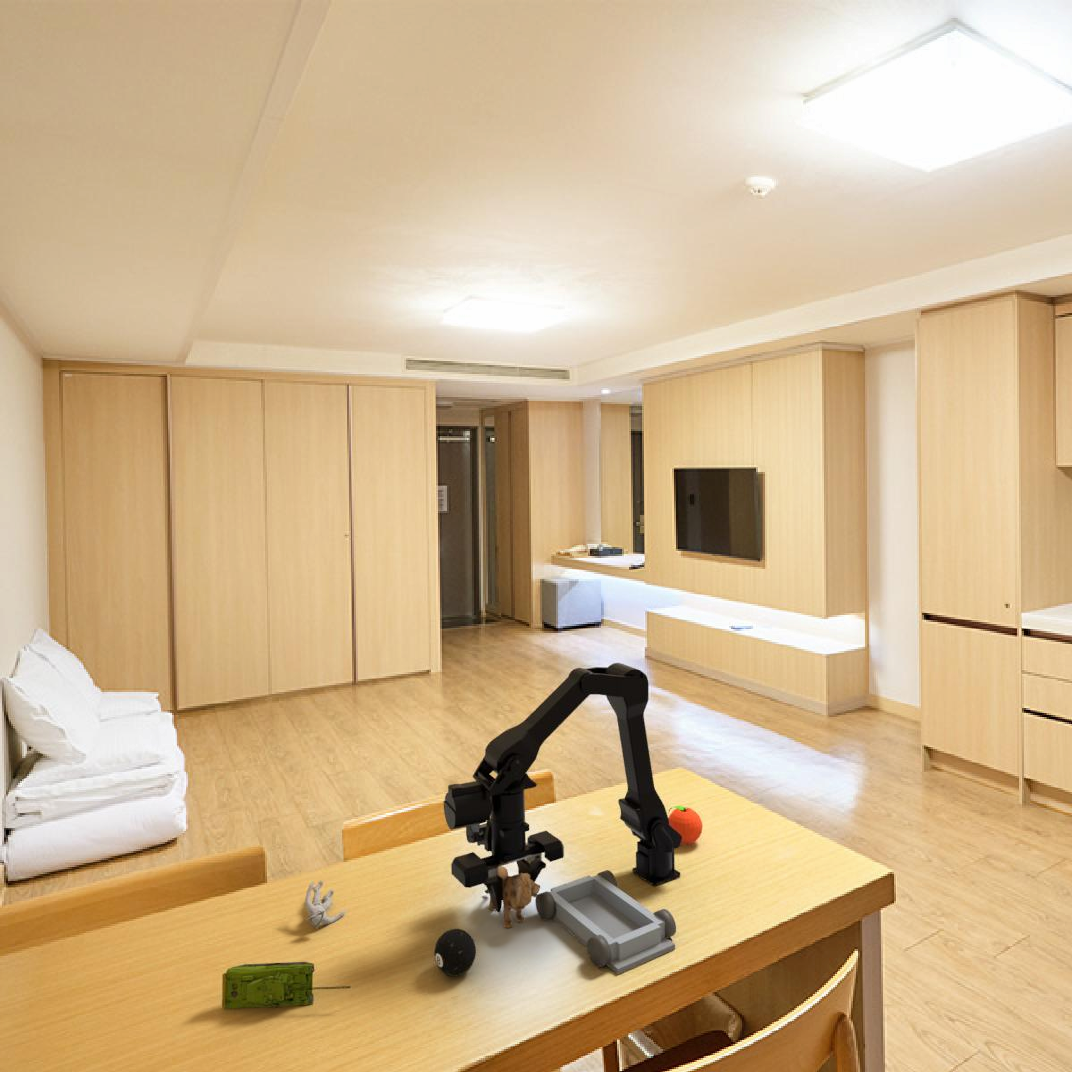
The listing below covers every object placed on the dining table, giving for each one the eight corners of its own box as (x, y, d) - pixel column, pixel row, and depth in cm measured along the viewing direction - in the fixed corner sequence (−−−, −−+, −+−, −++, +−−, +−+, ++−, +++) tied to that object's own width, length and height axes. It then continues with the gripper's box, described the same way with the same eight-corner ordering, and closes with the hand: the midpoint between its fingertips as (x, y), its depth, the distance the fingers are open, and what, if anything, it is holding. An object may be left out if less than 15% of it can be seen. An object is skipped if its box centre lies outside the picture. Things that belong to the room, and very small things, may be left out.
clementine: (656, 839, 152) (655, 805, 151) (680, 829, 156) (679, 796, 156) (686, 854, 145) (685, 818, 145) (710, 843, 150) (709, 808, 149)
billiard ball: (484, 971, 111) (482, 932, 111) (450, 990, 107) (449, 949, 107) (460, 953, 116) (459, 916, 115) (427, 971, 112) (426, 932, 111)
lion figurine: (544, 928, 122) (544, 874, 121) (517, 939, 119) (516, 884, 118) (497, 890, 134) (496, 841, 133) (471, 899, 131) (470, 849, 130)
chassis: (598, 884, 135) (598, 862, 135) (682, 945, 116) (682, 920, 116) (531, 909, 127) (530, 886, 127) (609, 978, 109) (608, 951, 108)
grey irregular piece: (347, 901, 133) (351, 914, 122) (327, 926, 132) (330, 941, 121) (313, 873, 133) (315, 883, 122) (294, 897, 131) (293, 910, 120)
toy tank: (233, 951, 109) (205, 980, 99) (364, 946, 110) (349, 975, 100) (231, 1004, 108) (203, 1039, 98) (363, 998, 108) (348, 1033, 99)
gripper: (530, 788, 136) (532, 871, 137) (436, 812, 126) (438, 902, 127) (564, 809, 127) (566, 899, 128) (465, 837, 117) (467, 934, 118)
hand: (509, 907), depth 125 cm, fingers closed on lion figurine, 4 cm apart
